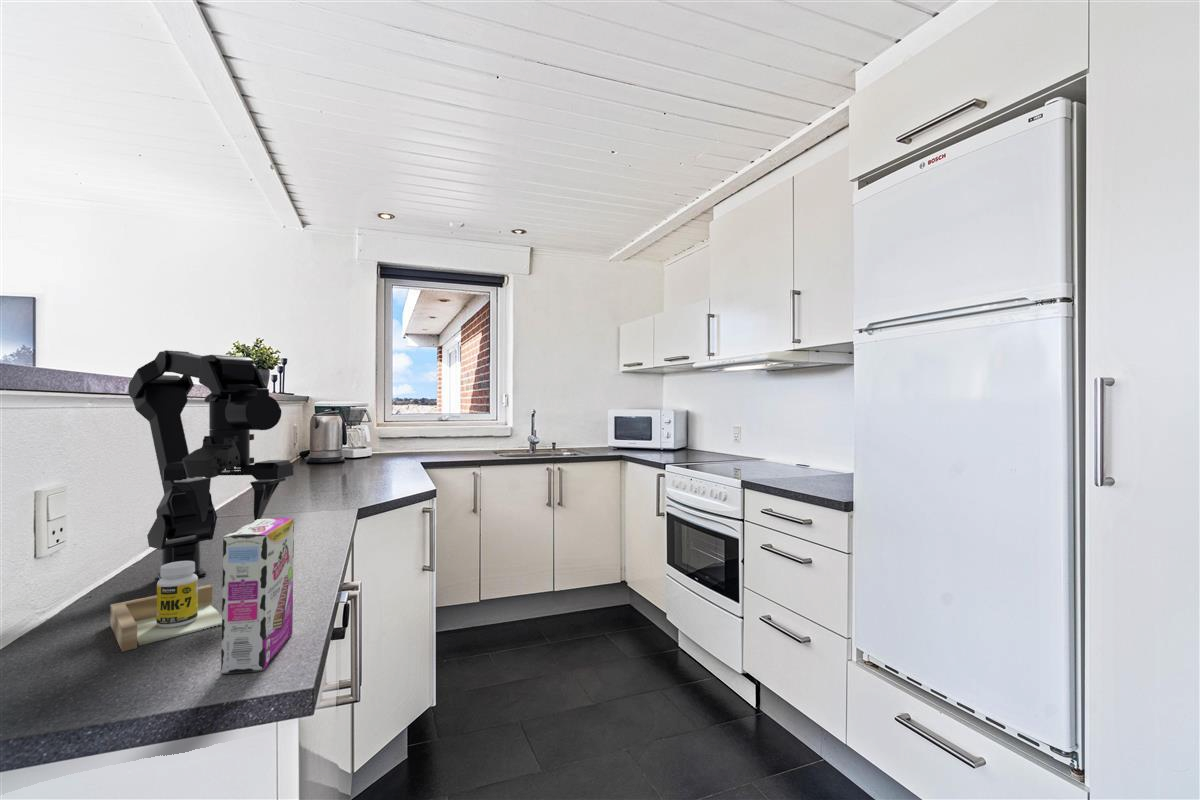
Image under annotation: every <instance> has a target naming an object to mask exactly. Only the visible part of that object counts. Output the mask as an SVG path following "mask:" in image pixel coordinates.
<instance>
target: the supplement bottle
mask: <svg viewBox="0 0 1200 800" xmlns="http://www.w3.org/2000/svg"><path fill="white" fill-rule="evenodd" d="M194 572H195V562H194V561H178V562H172V563H168V564H165V565H162V564H161V566H160V572H159V573H160V576H161V577H162V578H161V579H160V580H159V579H158V581H157V583H156V595H157V618H156V623H157V626H158V627H161V628H172V627H178V626H182V625H186V624H189V623H191V622H193V621H195V620H196V619H197V616H198V587H199V577H197V575H196V574H193V573H194Z"/></svg>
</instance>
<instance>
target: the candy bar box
mask: <svg viewBox="0 0 1200 800" xmlns="http://www.w3.org/2000/svg"><path fill="white" fill-rule="evenodd" d="M294 530H295V518H294V517H274V518H273V517H271V518H261V519H257V520H254V521H252V522H250V523H248V524H245V525H243V526H241V527H240V528H239V529H236V530H234V531H232V532H230V533H228V534H226V535H224V536H223V537H222V541H223V542H222V587H221V590H222V591H221V592H222V593H221V595H222V596H221V600H222V601H221V603H222V604H221V606H222V607H221V616H222V625H221V644H220V645H221V646H220V647H221V652H220V653H221V655H220V656H221V657H220V660H221V661H220V663H221V664H220V665H221V667H220V674H221V675H231V674H240V673H243V674H245V673H255V672H262V671H264V670H265V669H266V668H268V667H267V666H268V665H270V663H271V662H272V660H273V659H274V658H275V656H276V655H277V653H279V651H280V650H281V649H282V647H284V645H285V644H286V643H287V641H288V640H289V639H290V637H291V636H292V635H293V626H294V625H293V623H294V622H293V614H294V613H293V612H294V611H293V610H294V609H293V608H294V607H293V605H294V603H293V602H294V560H295V559H294V558H295V557H294V555H295V554H294V549H295V547H294V546H295V537H294V536H295V535H294V533H295V531H294Z"/></svg>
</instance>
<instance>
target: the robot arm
mask: <svg viewBox="0 0 1200 800" xmlns="http://www.w3.org/2000/svg"><path fill="white" fill-rule="evenodd" d="M165 373H175V374H179V375H182V376H179V375H172V374H171V375H170V374H169V375H167V374H165ZM192 378H196V379H198V383H199V384H200V385H202V386H204V387H206V389H209V391H210V393H209V394H207V395H206V397H205V398H204V402H205V403H209V405H208V406H209V408H208V409H209V423H208V424H209V427H208V428H209V433H208V435H205V436H203V437H204V438H203V440H202V445H201V447H199V448H198V449H195V450H194V451H192V452H189V448H188V443H187V438H186V434H185V429H184V425H183V420H182V416H181V415H182V412H183V410H184V409H185V407H186V405H187V403H188V395H189V393H190V392H191V390H192V388H193V387H194V381H193V379H192ZM267 387H268V385H267V384H266V382H265V380H264V379H263V377H262V375H261V372H260V371H259V367H258V366H257V365H256V364H255V361H254V360H253V359H252V357H248V356H239V355H237V356H236V355H222V354H207V355H200V354H194V353H190V352H189V351H181V350H163V351H159V352H158V353H157V354H156V357H155V358H154V359H153V360H151V361H150V362H147V363H146V364H144V365H142V366H141V367H139V368H138V369H136V371H135V373H134V375H133V376H132V378H131V379H130V381H129V384H128V389H127V390H128V395H129V398H131V399H132V401H133V405H134V409H135V410H136V412H138V414H139V415H141V416H142V417H143V418H144V419H145V420H147V421H148V422H149V425H150V426H149V427H150V431H151V436H152V441H153V445H154V450H155V456H156V461H157V465H158V469H159V475H160V479H161V485H162V488H163V489H162V490H163V496H162V499H160V502H159V504H158V506H157V508H156V512H155V513H156V518H155V520H154V522H153V524H152V526H151V527H150V529H149V532H148V533H147V535H146V538H147V543H148V547H149V548H153V549H157V550H161V566H162V565H165V564H168V563H172V562H178V561H194V562H195V572H194V573H193V574H196V575H197V577H198V578H199V577H200V576H201V577H206V576H207V571H205V570H204V569H203V568H202V567H201V542H203V541H211V540H213V537H214V535H215V530H216V524H217V520H218V516H217V511H216V510H215V506H214V505H213V501H212V500H213V499H212V494H211V492H210V490H211V481H212V478H216V477H218V476H252V477H253V479H255V481H254V480H253V481H250V482H249V484H250V485H251V487H252V489H253V492H254V493H253V519H254V521H255V520H257V519H262V517H263V516H264V512H265V511H266V508H267V506H268V504H269V502H270V500H271V498H272V496H273V494H274V493H275V491H276V489H277V488H278V486H279V484H280V483H281V482H285V481H286V479H287V477H291V476H294V465H293V463H292V462H291V461H290V459H268V460H263V461H257V462H255V457H252V456H250V455H251V453H250V451H251V450H250V446H251V444H250V441H254V440H255V434H254V433H251V432H250V431H266V430H270V429H273V428H274V427H275V426H277V425H278V423H279V422H280V420H281V417H282V409H281V406H280V404H279V403H278V401H277V399H275V398H274V397H272V396H271V395H270V389H269V388H267ZM156 577H158V578H159V579H158V578H157V579H158V581H159V580H160V579H161V578H162V577H161V576H160V572H159V573H156Z"/></svg>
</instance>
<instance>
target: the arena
mask: <svg viewBox="0 0 1200 800" xmlns="http://www.w3.org/2000/svg"><path fill="white" fill-rule="evenodd" d="M109 609H110V616H109V617H110V619H109V620H110V628H111V630H112V632H113V634H114V637H115V639H116V640H117V644H118V645H119V648H120V650H121V653H122V652H127V651H131V650H135V649H138V647H139V646H144V645H148V644H152V643H155V642H159V641H163V640H168V639H171V638H174V637H179V636H183V635H187V634H191V633H194V632H195V633H196V632H199V631H203V629H204V630H207V628H208V629H210V627H212V628H215V627H214V626H216V627H219V626H218V625H220V626H222V613H220V612H219V611H218V610H217V609H216V608H215V607H213V585H212V584H206V585H201V586H198V616H197V619H196V620H195V621H193V622H191V623H189V624H186V625H182V626H178V627H172V628H161V627H158V626H157V623H156V618H157V594H155V595H152V596H151V595H150V596H147V597H142V598H137V599H132V600H126V601H122V602H116V603H111V604H110V608H109Z"/></svg>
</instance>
